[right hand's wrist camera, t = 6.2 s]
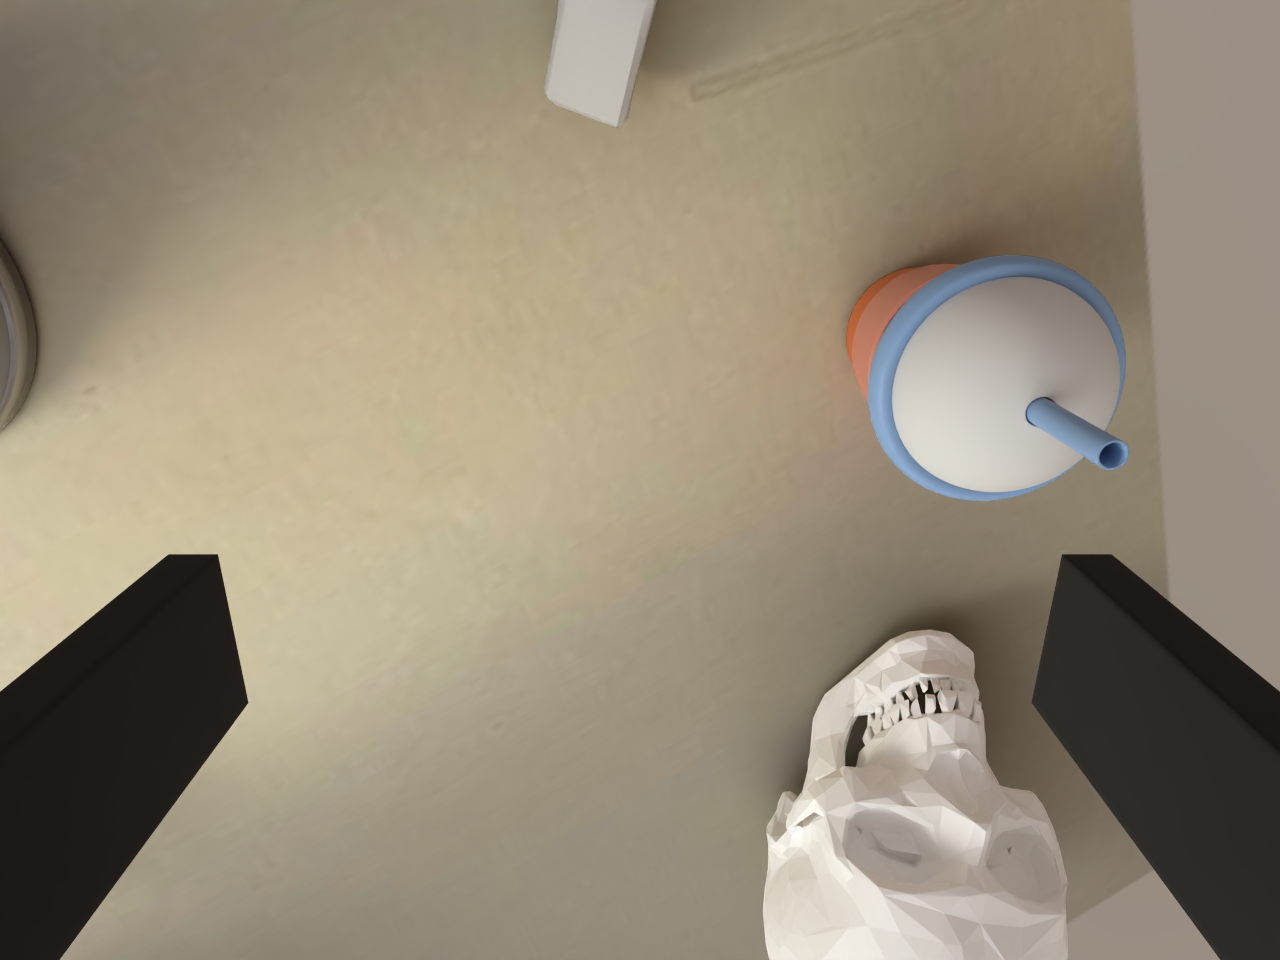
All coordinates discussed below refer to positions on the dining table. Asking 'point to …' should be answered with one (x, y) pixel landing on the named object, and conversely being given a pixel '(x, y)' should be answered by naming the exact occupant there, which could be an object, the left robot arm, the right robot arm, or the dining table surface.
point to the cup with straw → (989, 374)
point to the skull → (911, 828)
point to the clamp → (598, 56)
